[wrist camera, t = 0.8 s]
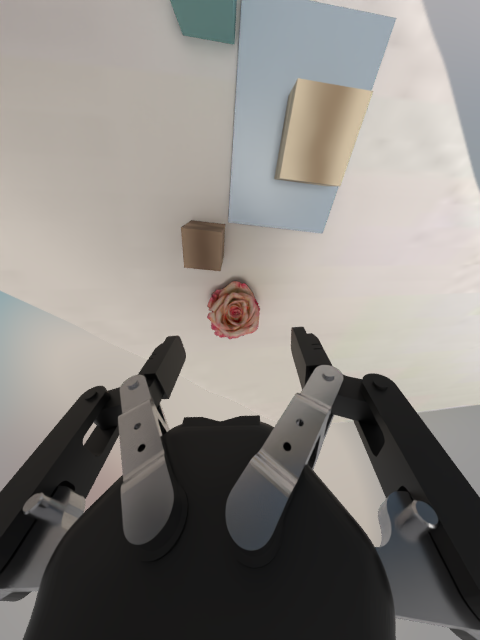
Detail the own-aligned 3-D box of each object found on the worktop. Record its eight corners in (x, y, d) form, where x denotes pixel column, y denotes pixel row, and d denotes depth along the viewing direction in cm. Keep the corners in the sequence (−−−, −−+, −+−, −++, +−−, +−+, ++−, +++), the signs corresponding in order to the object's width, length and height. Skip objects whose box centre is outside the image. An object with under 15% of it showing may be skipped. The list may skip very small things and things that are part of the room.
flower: (257, 330, 37) (268, 333, 29) (212, 339, 36) (211, 345, 28) (249, 284, 37) (257, 274, 29) (203, 291, 36) (200, 283, 28)
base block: (274, 179, 23) (279, 178, 20) (288, 95, 19) (298, 78, 16) (327, 186, 24) (340, 186, 21) (352, 106, 20) (373, 91, 17)
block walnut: (193, 254, 30) (184, 267, 25) (191, 220, 27) (181, 227, 22) (223, 257, 30) (220, 271, 26) (225, 224, 27) (222, 232, 23)
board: (228, 221, 27) (228, 222, 26) (242, -2, 17) (242, -14, 16) (319, 231, 28) (322, 233, 27) (387, 27, 17) (396, 18, 16)
